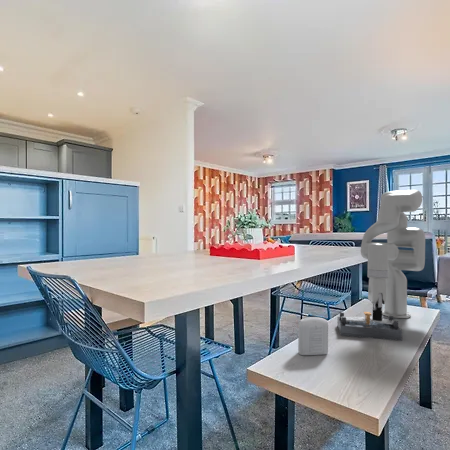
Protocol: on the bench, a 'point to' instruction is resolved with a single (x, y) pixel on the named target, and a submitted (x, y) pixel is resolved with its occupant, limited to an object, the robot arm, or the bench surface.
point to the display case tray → (369, 328)
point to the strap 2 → (383, 321)
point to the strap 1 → (354, 319)
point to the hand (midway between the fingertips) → (377, 319)
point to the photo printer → (313, 336)
